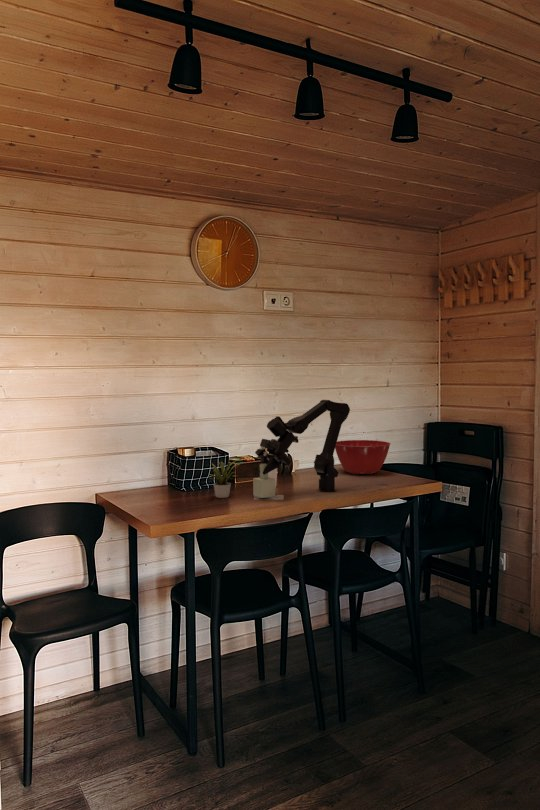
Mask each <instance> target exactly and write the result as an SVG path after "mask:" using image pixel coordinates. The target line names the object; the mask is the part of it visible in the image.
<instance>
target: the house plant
mask: <svg viewBox="0 0 540 810" xmlns="http://www.w3.org/2000/svg"><path fill="white" fill-rule="evenodd" d="M234 463H235V461H232V462H230V463H227V464H226V466H225V463H224V462H223V461H220V462H218V464H219V466H220V469H219V468H218V467H217V466H216V465H214V463H211V462H210V464H211V465H212V466H213V468H212V467H211V469H212V470H213V474H210V473H209V474H208V475H209V476H211V477H210V480H214V481H215V483H213V489H214V494H215V498H219V499H223V498H229V497H230V491H231V484H232V483H231V482H228V481H229V480H234V479H235V478H236V475H233V474H234V471H233V472H232V470H233V469H234V468H235V467H236V466H239V465H241V464H240V463H239V464H235V465H233V464H234ZM232 465H233V466H232ZM231 466H232V467H231ZM220 470H221V472H220ZM232 475H233V477H235V478H233V477H232Z"/></svg>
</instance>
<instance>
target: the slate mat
mask: <svg viewBox="0 0 540 810" xmlns="http://www.w3.org/2000/svg"><path fill="white" fill-rule="evenodd" d="M284 497H285V496H284V494H275V496H271V497H268V498H260V497H257V496H254V495H253V500H254V501H256V500H257V501H271V500H272V501H277V500H278V501H284Z"/></svg>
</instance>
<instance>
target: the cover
mask: <svg viewBox="0 0 540 810" xmlns="http://www.w3.org/2000/svg"><path fill="white" fill-rule="evenodd" d="M266 466H267V464H265V463H264V464H261V463H259V469H260V473H259V477H254V478H252V479H253V480H252V481H253V482H252V483H253V484H252V485H253V490H252V492H253V493H252V494H253V497H254V496H257V497H261V498H265V497H271V496H275V495H276V487H275V479H274V478H270V477H268V473H267V474H265V475H264V474H263V471H264V469H265V467H266Z"/></svg>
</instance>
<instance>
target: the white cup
mask: <svg viewBox="0 0 540 810" xmlns="http://www.w3.org/2000/svg"><path fill="white" fill-rule="evenodd" d="M277 475H278V468H276V469H274V470H272V471H270V472H269V473H268V477H270V478H274V479H275V488H276V487H277V479H278V477H277Z"/></svg>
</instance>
